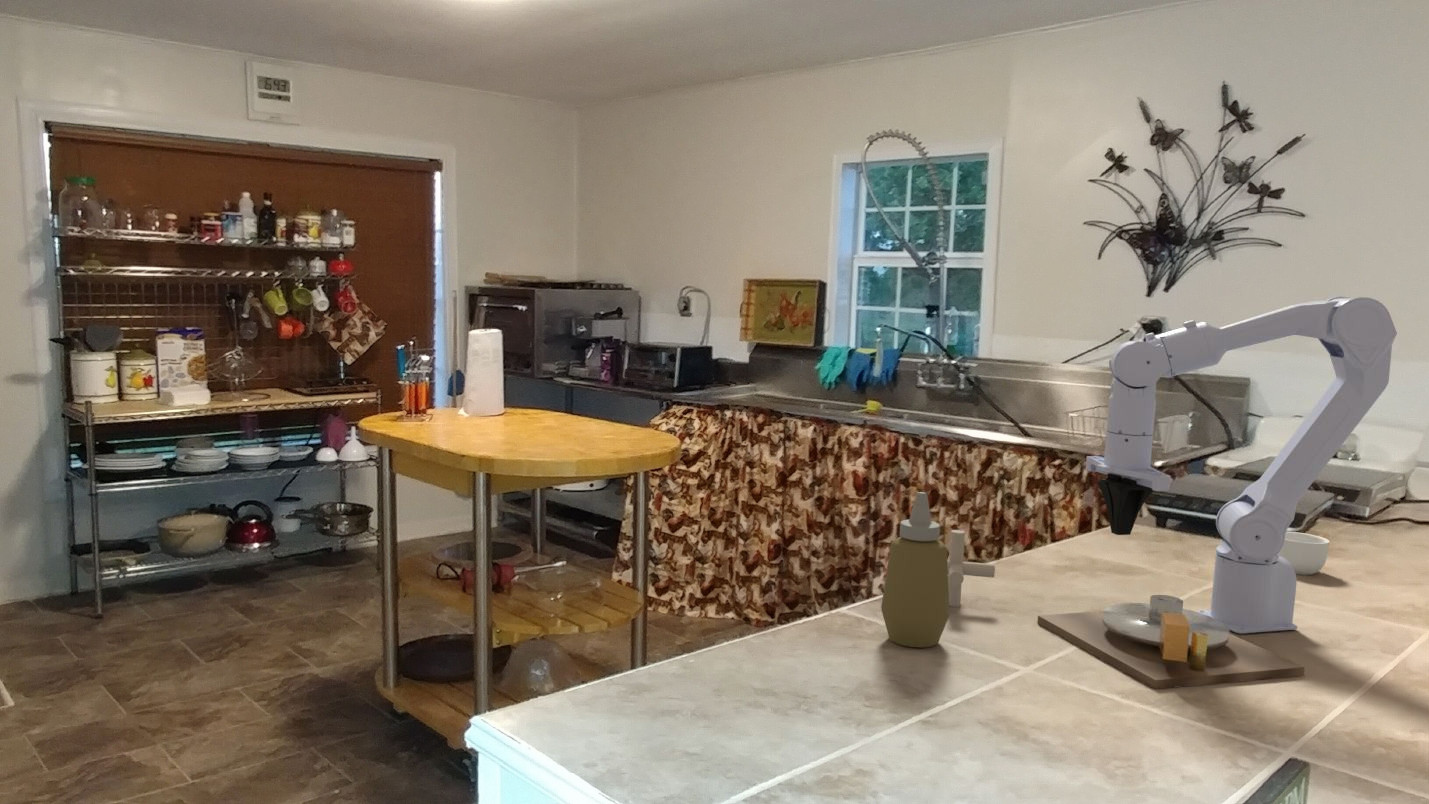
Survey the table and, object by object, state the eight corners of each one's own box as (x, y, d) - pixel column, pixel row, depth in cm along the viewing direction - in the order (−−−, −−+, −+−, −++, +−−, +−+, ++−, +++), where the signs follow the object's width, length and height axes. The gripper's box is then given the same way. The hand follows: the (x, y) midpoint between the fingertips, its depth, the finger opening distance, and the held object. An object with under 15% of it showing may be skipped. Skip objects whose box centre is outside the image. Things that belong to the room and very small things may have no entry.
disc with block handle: (1099, 605, 134) (1101, 574, 133) (1219, 619, 130) (1221, 588, 129) (1106, 651, 117) (1109, 616, 116) (1244, 669, 112) (1248, 633, 112)
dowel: (1197, 665, 117) (1200, 631, 116) (1208, 670, 115) (1211, 635, 115) (1185, 666, 116) (1188, 632, 116) (1196, 672, 115) (1199, 636, 114)
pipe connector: (993, 619, 134) (999, 543, 133) (914, 612, 136) (919, 537, 135) (989, 597, 143) (994, 526, 142) (915, 590, 145) (920, 520, 144)
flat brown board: (1168, 614, 139) (1169, 599, 138) (1303, 675, 118) (1305, 658, 117) (1037, 623, 133) (1038, 607, 133) (1154, 689, 112) (1156, 671, 112)
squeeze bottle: (907, 656, 119) (916, 502, 117) (865, 634, 126) (873, 488, 124) (962, 647, 123) (971, 497, 121) (918, 626, 130) (927, 484, 128)
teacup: (1332, 572, 163) (1336, 538, 162) (1317, 581, 158) (1321, 546, 157) (1264, 558, 170) (1267, 526, 170) (1247, 566, 165) (1250, 533, 164)
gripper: (1070, 424, 143) (1062, 521, 144) (1140, 441, 129) (1131, 548, 131) (1113, 424, 145) (1105, 520, 146) (1188, 441, 131) (1178, 546, 133)
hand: (1120, 533), depth 139 cm, fingers closed
